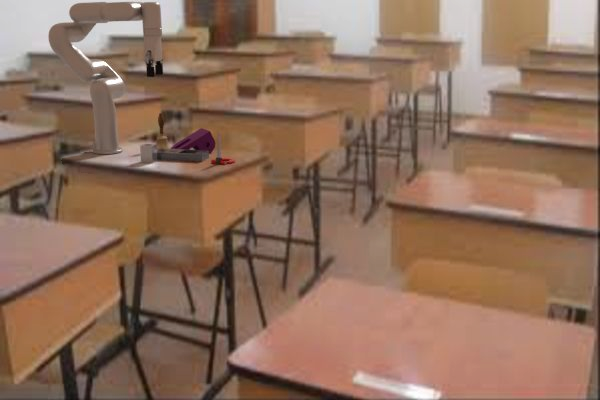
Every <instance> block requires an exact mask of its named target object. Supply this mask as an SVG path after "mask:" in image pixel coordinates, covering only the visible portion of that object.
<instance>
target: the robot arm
mask: <svg viewBox="0 0 600 400" xmlns="http://www.w3.org/2000/svg"><path fill="white" fill-rule="evenodd" d="M161 11H162V10H161V4H160V3H159V2H156V1H147V2H146V1H144V2H141V1H119V2H118V1H114V2H106V1H95V2H94V1H93V2H92V1H91V2H89V1H88V2H77V3H74V4H73V5H71V6H70V8H69V12H68V13H69V14H68V15H69V18H70V19H71V20H72V21H71V22H57V23H56V24H54V25H52V26H51V27H50V29H49V31H48V42H49V46H50V48H51V49H52V51H53V52H54V53H55V55H56V56H57V57H58V58H59V59H60V60H62V61H63V63H64V64H65V65H66V66H67V67H68V68H69V70H71V72H73V74H74V75H75V76H76V77H77V78H78V79H79V80H80V81H81V82H83V83H91V84H90V87H89V95H90V99H91V103H92V110H93V125H94V139H95V140H94V141H88V142H87V147H91V148H93V149H92V150H91V151H92V153H93V154H96V155H111V154H112V155H113V154H118V153H122V152H123V147H120V146H119V134H118V132H119V131H118V117H117V116H118V115H117V109H116V108H117V107H116V105H115V102H114V100H116V99H119V98H121V97H123V96H124V94H125V92H126V84H125V82H124V80H123V79H122V78H121V77H120V75H118V74H117V72H116V71H115V70H114V69H113V68H112V67H111V66H110V65H109V64H108V63H107V62H105V61H104V60H102V59H99V58H92V59H91V58H89V57H87V56H86V55H85V54H84V53H83V52H82V50H80V49H79V48H78V47H76V45H74V43H79V42H82V41H84V39H86V37H87V36H88V35H89V34H90V32H91V31H92V30H93V29H94V28H95V26H96V25H97V24H107V23H109V22H140V21H142V34H143V35H142V36H143V61H144V62H145V67H146V76H147V78H154V77H156V75H157V76H163V75H164V66H163V65H164V63H163V60H164V59H163V55H164V54H163V43H162V37H163V29H162V12H161ZM72 43H73V44H72Z"/></svg>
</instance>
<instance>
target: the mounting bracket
mask: <svg viewBox="0 0 600 400" xmlns="http://www.w3.org/2000/svg"><path fill="white" fill-rule="evenodd" d="M170 147H171V149H184V150H208V151H209V152H211V153H212V152H213V151H214V149H215V148H216V140H215V139H214V136H213V134H212V132H211V131H210V130H209V129H205V128H202V127H201V128H199V129H198V130H197V129H196V131H193V133H190V134H189V135H188V136H186V137H185V138H183V139H181V140H180V141H177V143H175V144H173V145H172V146H170Z"/></svg>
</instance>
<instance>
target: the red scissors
mask: <svg viewBox="0 0 600 400" xmlns="http://www.w3.org/2000/svg"><path fill="white" fill-rule="evenodd" d="M221 142H222V141H221V131H217V152H216V157H215V159H211V161H210V162H211V163H212V164H216V165H223V166H225V165H227V164H234V163H236V159H234V158H228V157H227V158H226V157H225V158H224V157H223V158H222V157H221V156H222V151H221ZM223 160H231V161H223ZM233 162H234V163H233Z"/></svg>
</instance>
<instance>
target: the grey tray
mask: <svg viewBox="0 0 600 400" xmlns="http://www.w3.org/2000/svg"><path fill="white" fill-rule="evenodd" d="M209 158H210V153H209V151H208V150H195V149H189V150H184V149H161V148H159V149H157V161H178V162H195V161H196V162H198V163H199V162H200V163H202V161H203V162H204V161H206V160H207V159H209ZM205 159H206V160H205Z"/></svg>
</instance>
